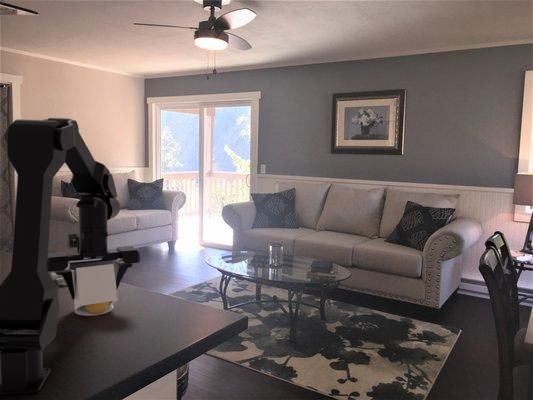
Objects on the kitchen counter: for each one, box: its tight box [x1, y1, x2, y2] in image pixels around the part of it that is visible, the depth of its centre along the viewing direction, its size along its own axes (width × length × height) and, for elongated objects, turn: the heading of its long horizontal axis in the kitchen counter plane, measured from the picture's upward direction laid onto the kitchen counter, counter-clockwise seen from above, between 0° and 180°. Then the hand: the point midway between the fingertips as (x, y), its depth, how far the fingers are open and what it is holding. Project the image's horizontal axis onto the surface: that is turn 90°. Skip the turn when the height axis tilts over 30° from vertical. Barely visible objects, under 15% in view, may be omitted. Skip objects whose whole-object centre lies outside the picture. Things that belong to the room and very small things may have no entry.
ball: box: [85, 302, 109, 314], centre depth 93 cm, size 5×5×5 cm
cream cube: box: [72, 263, 119, 310], centre depth 94 cm, size 8×8×8 cm
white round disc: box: [73, 303, 114, 317], centre depth 96 cm, size 8×8×1 cm
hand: (93, 296), depth 95 cm, fingers open, 8 cm apart
